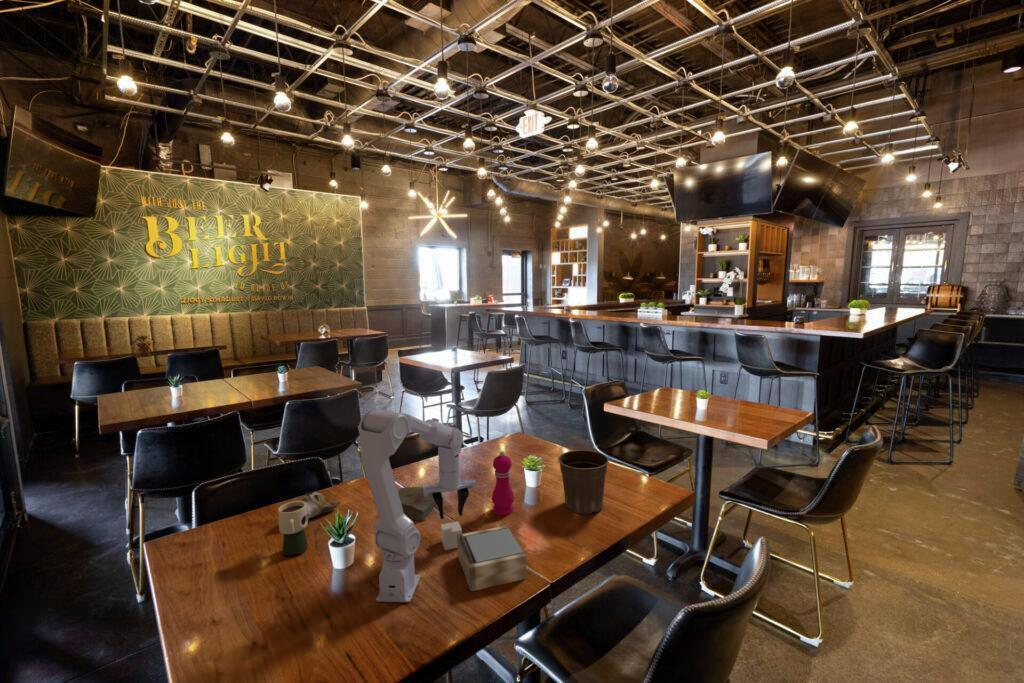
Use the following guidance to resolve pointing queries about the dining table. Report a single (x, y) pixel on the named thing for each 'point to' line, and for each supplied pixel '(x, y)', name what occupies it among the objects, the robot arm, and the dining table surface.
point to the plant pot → (583, 480)
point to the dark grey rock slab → (416, 503)
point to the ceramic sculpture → (317, 504)
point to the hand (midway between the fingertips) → (450, 515)
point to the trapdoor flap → (493, 545)
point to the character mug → (293, 527)
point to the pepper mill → (502, 486)
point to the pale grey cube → (450, 534)
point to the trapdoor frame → (489, 565)
